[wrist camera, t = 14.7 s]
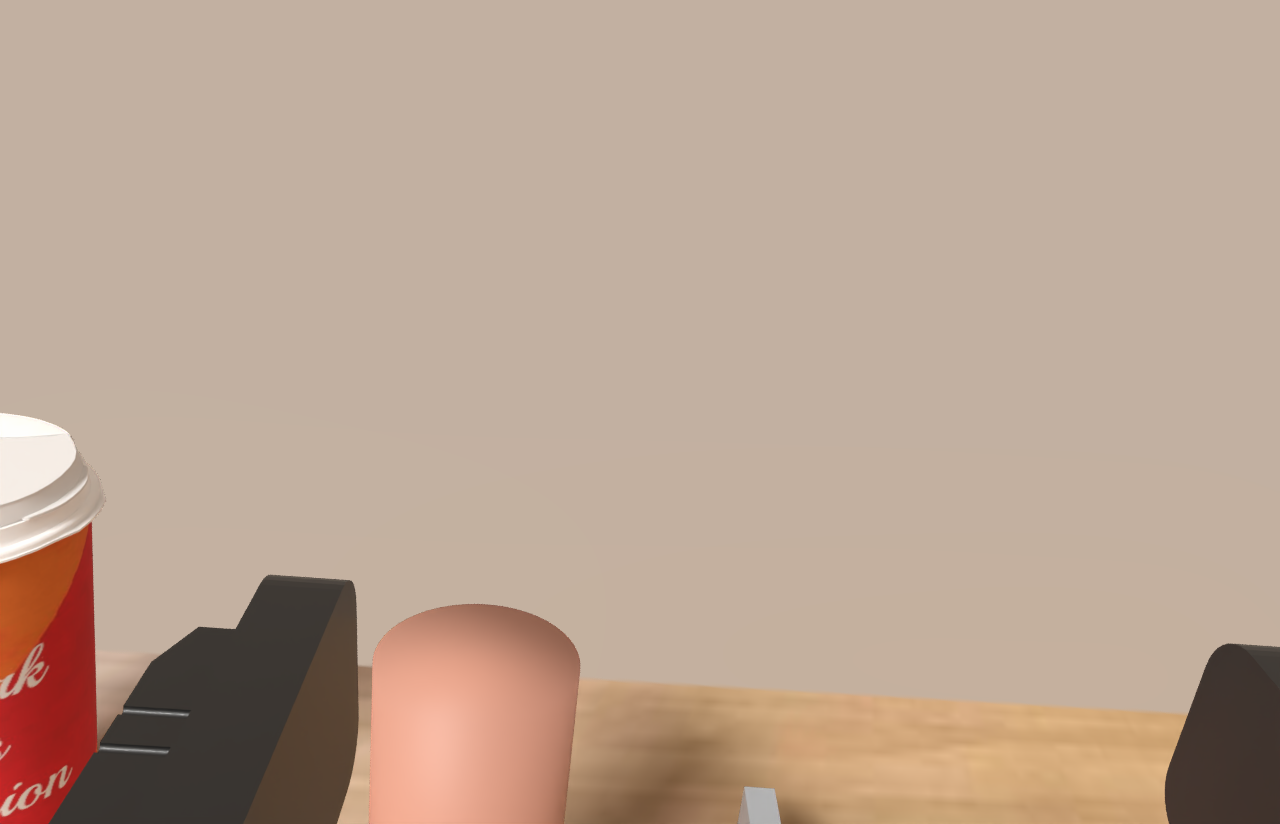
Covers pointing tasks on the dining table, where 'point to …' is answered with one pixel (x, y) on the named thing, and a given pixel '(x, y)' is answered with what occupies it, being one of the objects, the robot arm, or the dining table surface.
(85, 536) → the paper cup
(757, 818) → the acrylic wall
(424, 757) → the salmon pink cylinder
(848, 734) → the dining table surface
